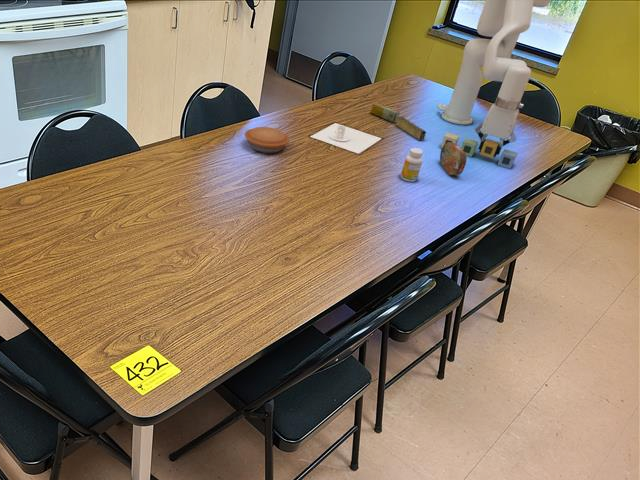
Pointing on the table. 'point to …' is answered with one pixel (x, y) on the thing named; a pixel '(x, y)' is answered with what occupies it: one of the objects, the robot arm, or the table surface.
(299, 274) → the table surface
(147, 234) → the table surface
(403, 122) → the decorative block
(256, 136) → the pie
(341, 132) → the teacup and saucer
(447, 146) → the tin
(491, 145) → the mustard block
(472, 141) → the sage block
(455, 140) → the cream block
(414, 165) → the supplement bottle
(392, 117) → the medication box
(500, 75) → the robot arm
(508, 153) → the blue-grey block
